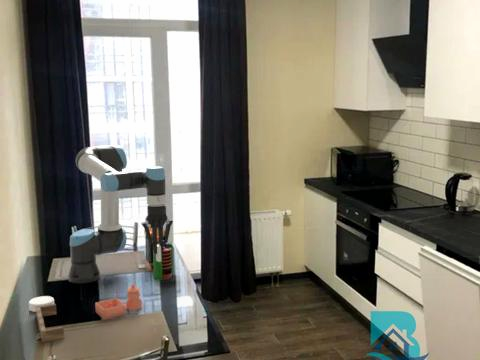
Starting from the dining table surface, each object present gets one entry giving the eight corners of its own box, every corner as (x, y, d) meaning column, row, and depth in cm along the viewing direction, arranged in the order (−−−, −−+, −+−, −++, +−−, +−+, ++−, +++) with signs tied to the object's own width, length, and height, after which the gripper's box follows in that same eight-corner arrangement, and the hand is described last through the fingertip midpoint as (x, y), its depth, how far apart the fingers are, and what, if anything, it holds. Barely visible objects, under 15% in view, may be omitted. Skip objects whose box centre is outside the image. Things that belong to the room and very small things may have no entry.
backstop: (36, 316, 208) (35, 306, 207) (56, 312, 211) (55, 303, 211) (42, 342, 185) (41, 331, 184) (64, 338, 188) (63, 327, 187)
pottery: (104, 320, 204) (103, 296, 202) (95, 312, 212) (94, 289, 210) (146, 309, 214) (145, 286, 213) (136, 302, 222) (135, 280, 220)
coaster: (57, 303, 222) (57, 295, 222) (50, 312, 212) (49, 304, 212) (34, 303, 222) (33, 295, 221) (25, 312, 212) (24, 304, 212)
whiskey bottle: (144, 266, 271) (142, 206, 267) (163, 264, 275) (161, 204, 271) (149, 272, 262) (147, 209, 257) (168, 269, 266) (166, 208, 261)
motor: (168, 280, 249) (166, 240, 246) (150, 279, 251) (149, 239, 248) (175, 274, 259) (173, 234, 256) (158, 273, 260) (156, 234, 258)
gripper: (143, 207, 206) (145, 265, 209) (174, 204, 212) (176, 260, 215) (138, 204, 213) (140, 260, 216) (169, 201, 218) (170, 256, 221)
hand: (158, 260), depth 215 cm, fingers closed
